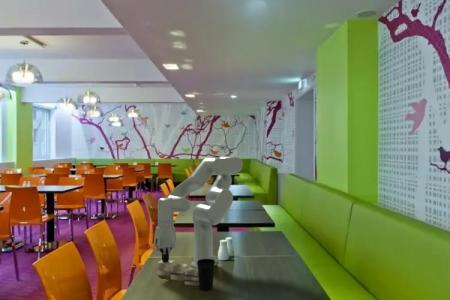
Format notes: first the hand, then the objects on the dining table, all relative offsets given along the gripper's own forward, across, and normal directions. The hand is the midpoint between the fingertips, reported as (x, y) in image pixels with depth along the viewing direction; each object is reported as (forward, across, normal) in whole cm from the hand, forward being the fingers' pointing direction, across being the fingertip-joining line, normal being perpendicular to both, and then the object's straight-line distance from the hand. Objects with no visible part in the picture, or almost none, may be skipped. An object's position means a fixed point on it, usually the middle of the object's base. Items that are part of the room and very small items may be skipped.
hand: (165, 261), depth 204 cm
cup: (+6, -2, +29) cm, 30 cm away
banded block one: (+6, -1, +10) cm, 12 cm away
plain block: (+6, 0, 0) cm, 6 cm away
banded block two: (+6, -2, +20) cm, 21 cm away
